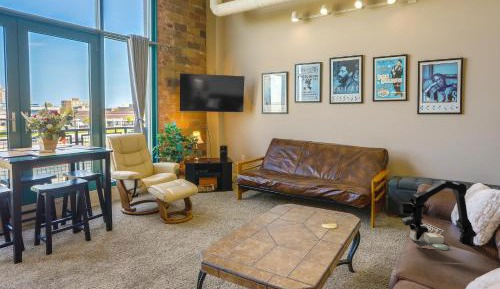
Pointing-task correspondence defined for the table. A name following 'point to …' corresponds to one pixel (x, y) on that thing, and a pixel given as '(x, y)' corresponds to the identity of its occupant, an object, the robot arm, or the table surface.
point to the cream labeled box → (433, 238)
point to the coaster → (440, 246)
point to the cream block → (413, 235)
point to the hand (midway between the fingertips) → (415, 237)
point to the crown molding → (432, 228)
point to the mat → (425, 242)
